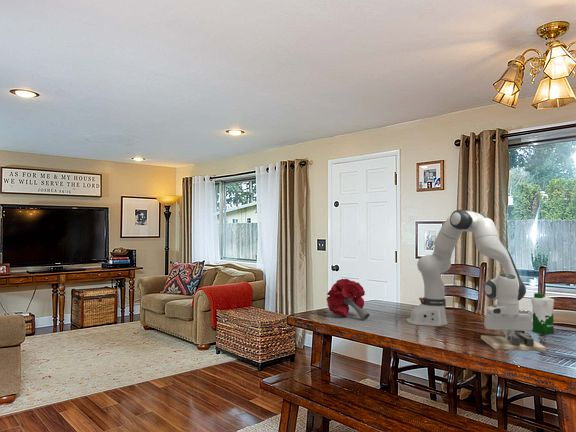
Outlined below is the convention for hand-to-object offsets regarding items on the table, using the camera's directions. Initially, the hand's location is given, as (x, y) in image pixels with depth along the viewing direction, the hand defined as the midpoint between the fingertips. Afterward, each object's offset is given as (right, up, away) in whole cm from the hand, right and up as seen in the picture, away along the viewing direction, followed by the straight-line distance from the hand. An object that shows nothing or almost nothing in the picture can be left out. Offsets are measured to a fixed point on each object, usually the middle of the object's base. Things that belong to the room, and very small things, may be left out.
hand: (508, 339), depth 191 cm
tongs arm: (+3, -1, +1) cm, 3 cm away
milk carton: (+32, -4, +27) cm, 42 cm away
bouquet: (-65, -5, +61) cm, 89 cm away
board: (+3, -3, +3) cm, 5 cm away
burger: (+14, -4, +18) cm, 23 cm away
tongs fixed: (+6, -2, +2) cm, 7 cm away
